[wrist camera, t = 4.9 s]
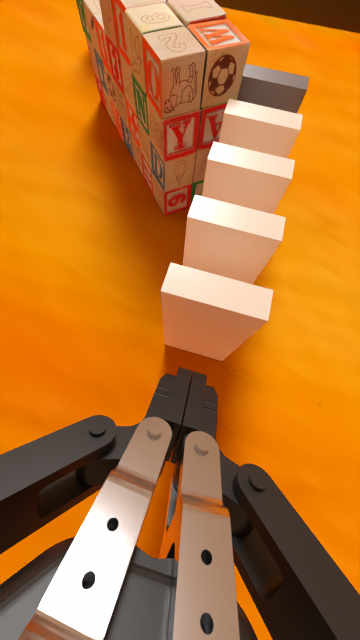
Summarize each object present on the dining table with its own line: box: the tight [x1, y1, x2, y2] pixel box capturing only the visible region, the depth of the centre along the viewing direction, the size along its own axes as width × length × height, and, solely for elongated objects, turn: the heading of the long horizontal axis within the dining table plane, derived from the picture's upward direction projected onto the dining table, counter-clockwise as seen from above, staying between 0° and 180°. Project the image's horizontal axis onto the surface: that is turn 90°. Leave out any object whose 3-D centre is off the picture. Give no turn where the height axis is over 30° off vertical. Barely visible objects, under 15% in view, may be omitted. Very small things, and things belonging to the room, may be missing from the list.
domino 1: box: [237, 64, 309, 114], centre depth 22 cm, size 5×2×10 cm, turn 74°
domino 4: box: [183, 195, 286, 284], centre depth 17 cm, size 5×2×10 cm, turn 74°
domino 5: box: [161, 263, 273, 361], centre depth 16 cm, size 5×2×10 cm, turn 74°
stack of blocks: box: [76, 0, 250, 215], centre depth 23 cm, size 21×6×12 cm, turn 25°
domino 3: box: [202, 142, 295, 214], centre depth 19 cm, size 5×2×10 cm, turn 74°
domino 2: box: [219, 99, 303, 158], centre depth 20 cm, size 5×2×10 cm, turn 74°
